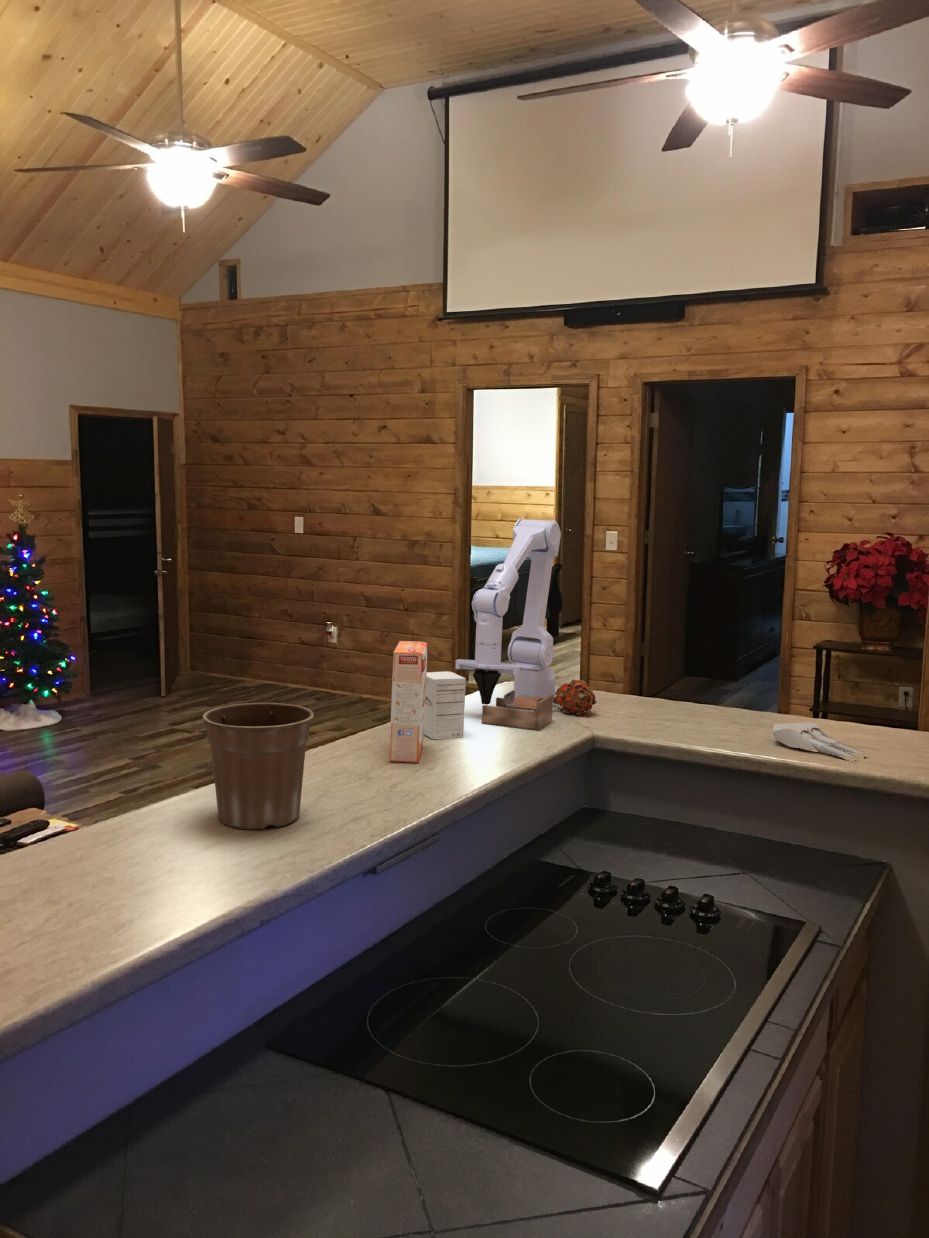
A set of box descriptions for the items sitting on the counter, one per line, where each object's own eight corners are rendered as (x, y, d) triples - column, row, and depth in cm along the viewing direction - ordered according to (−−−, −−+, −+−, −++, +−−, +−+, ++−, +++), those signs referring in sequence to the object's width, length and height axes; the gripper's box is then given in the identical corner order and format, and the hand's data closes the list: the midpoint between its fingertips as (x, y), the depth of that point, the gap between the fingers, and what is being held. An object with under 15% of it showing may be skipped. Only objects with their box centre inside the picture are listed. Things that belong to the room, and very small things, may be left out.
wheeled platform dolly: (501, 715, 218) (502, 695, 217) (512, 709, 225) (513, 689, 224) (535, 720, 215) (536, 699, 215) (545, 713, 222) (546, 692, 222)
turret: (846, 775, 197) (852, 753, 196) (759, 739, 211) (764, 718, 210) (869, 767, 204) (875, 745, 203) (783, 733, 218) (788, 712, 217)
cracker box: (420, 764, 185) (424, 652, 182) (388, 762, 185) (391, 650, 182) (425, 745, 199) (428, 640, 196) (394, 743, 199) (397, 639, 196)
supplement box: (417, 731, 209) (419, 672, 208) (449, 729, 212) (451, 670, 211) (431, 740, 203) (433, 678, 201) (464, 737, 206) (466, 677, 204)
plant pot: (184, 830, 145) (184, 721, 143) (225, 797, 161) (226, 698, 159) (293, 839, 143) (295, 729, 141) (324, 805, 159) (326, 705, 157)
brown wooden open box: (481, 723, 218) (482, 696, 218) (496, 714, 228) (497, 688, 227) (538, 730, 214) (540, 703, 213) (551, 721, 223) (553, 694, 222)
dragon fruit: (589, 725, 227) (557, 722, 237) (611, 701, 231) (578, 698, 241) (570, 697, 224) (538, 695, 234) (593, 673, 228) (561, 671, 238)
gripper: (451, 642, 220) (449, 703, 222) (514, 648, 215) (511, 710, 217) (462, 638, 227) (460, 697, 228) (524, 644, 222) (521, 704, 223)
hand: (486, 703), depth 223 cm, fingers closed
